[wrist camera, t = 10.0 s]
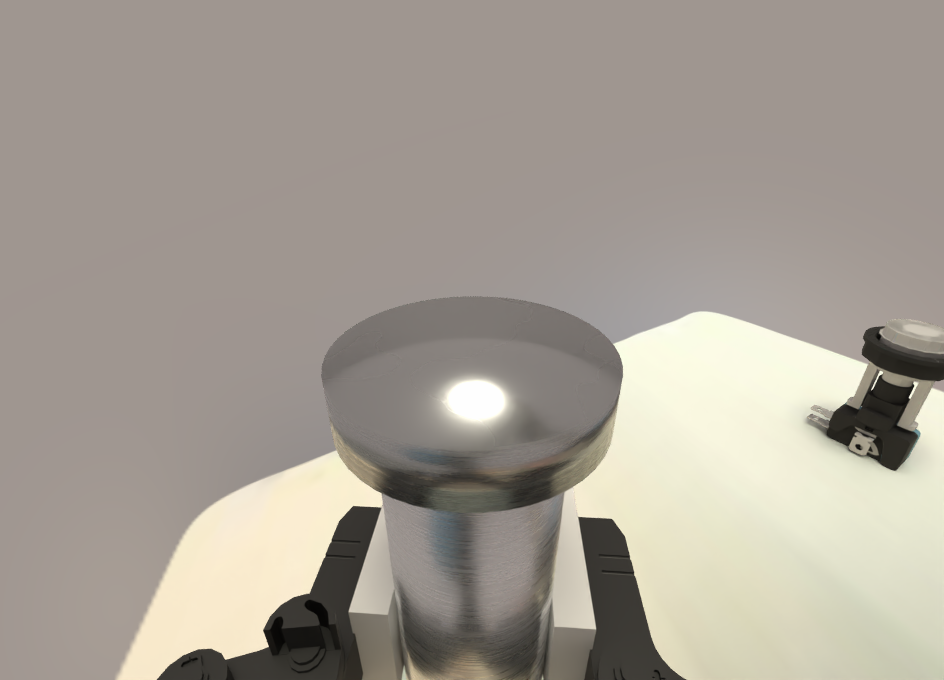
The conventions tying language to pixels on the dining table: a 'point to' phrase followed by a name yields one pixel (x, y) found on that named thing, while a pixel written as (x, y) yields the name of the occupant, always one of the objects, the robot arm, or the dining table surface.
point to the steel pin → (472, 466)
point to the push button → (889, 391)
